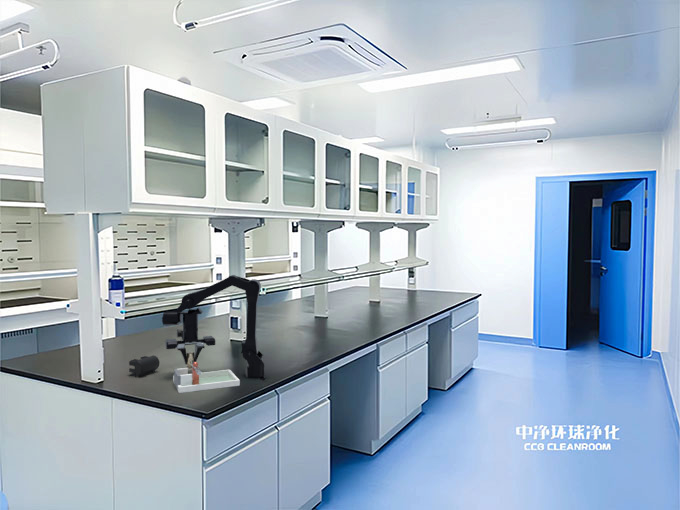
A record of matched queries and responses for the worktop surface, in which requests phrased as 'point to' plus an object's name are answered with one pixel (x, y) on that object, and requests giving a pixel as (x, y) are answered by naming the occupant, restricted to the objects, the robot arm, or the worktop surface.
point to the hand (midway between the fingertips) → (190, 363)
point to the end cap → (143, 365)
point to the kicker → (193, 367)
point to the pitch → (204, 380)
